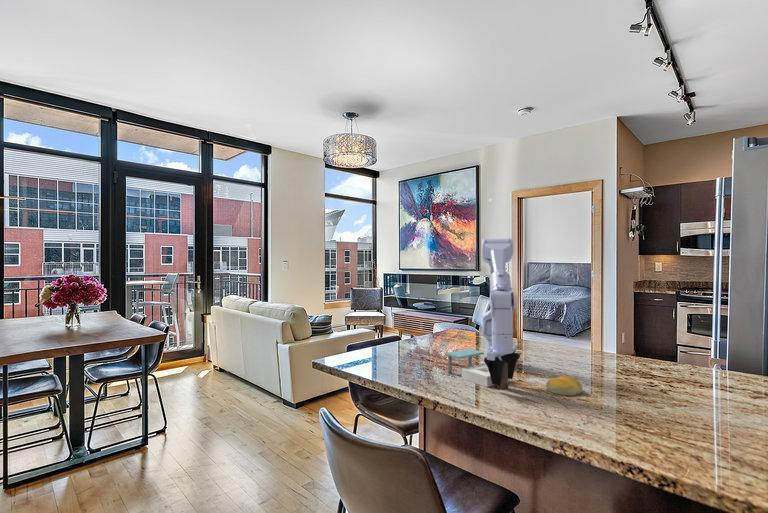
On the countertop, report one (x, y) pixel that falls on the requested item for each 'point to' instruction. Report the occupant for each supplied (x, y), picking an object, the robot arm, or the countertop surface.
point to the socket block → (478, 375)
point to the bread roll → (564, 386)
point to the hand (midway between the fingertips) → (502, 381)
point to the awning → (462, 354)
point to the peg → (504, 378)
